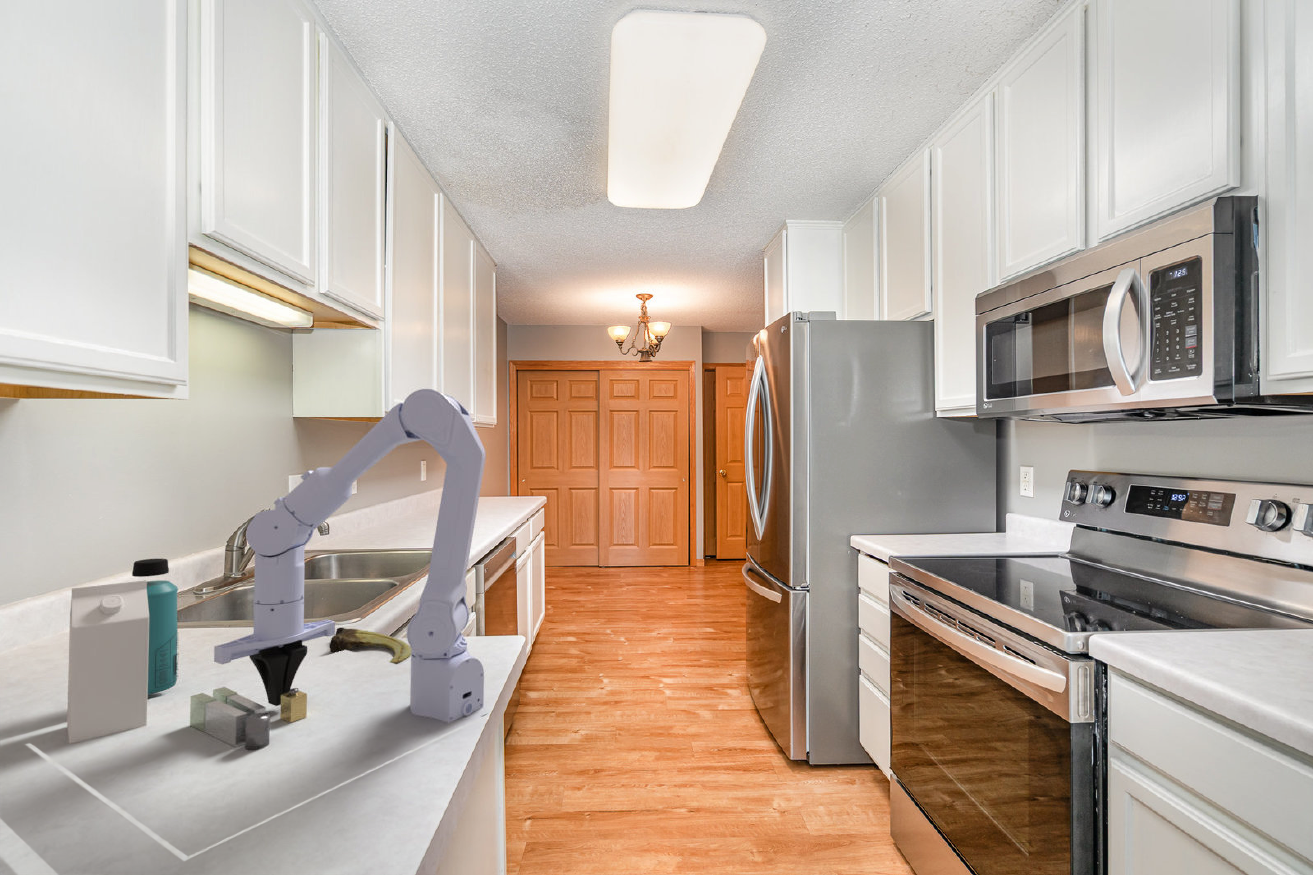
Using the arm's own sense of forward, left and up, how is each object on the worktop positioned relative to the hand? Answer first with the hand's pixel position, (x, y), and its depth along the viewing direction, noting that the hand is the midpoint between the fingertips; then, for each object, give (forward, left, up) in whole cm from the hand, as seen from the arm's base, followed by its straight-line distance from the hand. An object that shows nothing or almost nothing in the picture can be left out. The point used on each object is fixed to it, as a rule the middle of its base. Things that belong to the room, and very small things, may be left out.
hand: (277, 702), depth 83 cm
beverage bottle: (+24, +6, -3) cm, 24 cm away
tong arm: (-1, +5, -1) cm, 5 cm away
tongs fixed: (-2, +7, -1) cm, 7 cm away
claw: (+16, -25, -3) cm, 30 cm away
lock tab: (-4, 0, -1) cm, 4 cm away
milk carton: (+14, +14, -3) cm, 19 cm away
